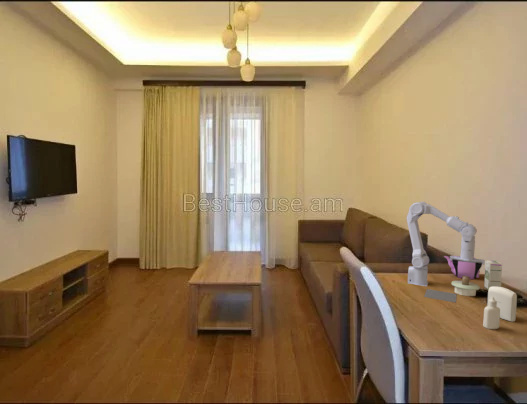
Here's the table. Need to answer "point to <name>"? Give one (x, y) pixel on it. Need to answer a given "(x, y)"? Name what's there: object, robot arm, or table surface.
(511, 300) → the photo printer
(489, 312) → the eye dropper bottle
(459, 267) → the teapot
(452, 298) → the mat
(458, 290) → the bowl
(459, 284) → the lid
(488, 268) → the syrup box
